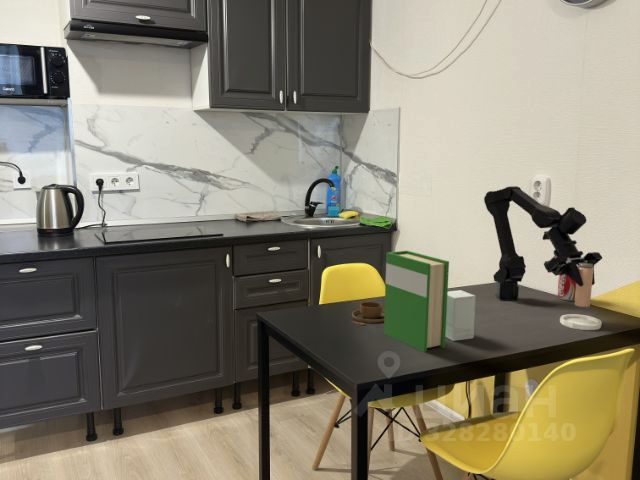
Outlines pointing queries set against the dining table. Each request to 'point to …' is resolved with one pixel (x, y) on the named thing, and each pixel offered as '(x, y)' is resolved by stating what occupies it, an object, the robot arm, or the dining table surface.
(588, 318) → the tray
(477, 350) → the dining table surface
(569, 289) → the soda can
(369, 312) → the place setting
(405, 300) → the hardback book
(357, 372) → the dining table surface
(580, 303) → the spice jar
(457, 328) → the supplement box
